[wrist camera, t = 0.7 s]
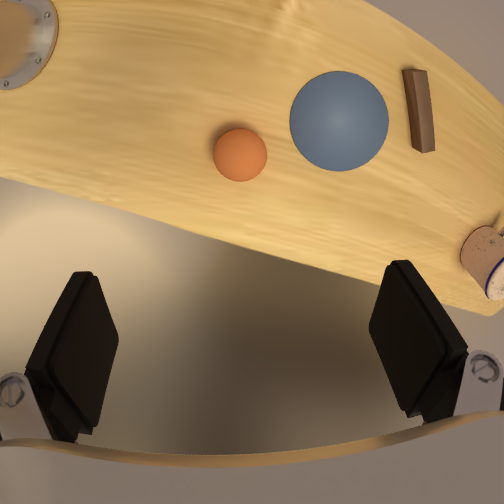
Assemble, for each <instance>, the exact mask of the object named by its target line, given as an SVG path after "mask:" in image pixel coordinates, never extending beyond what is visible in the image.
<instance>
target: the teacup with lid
mask: <svg viewBox="0 0 504 504" xmlns="http://www.w3.org/2000/svg"><path fill="white" fill-rule="evenodd" d="M503 236H504V227H503V228H502V229H501V230H500V231H499V233H497V232H496V231H495V230H494V229H493V228H491V227H488V226H484V227H481V228H479V229H477V230H475V231H474V232H473V233H472V234H471V235H470V236H469V237H468V239H467V240H466V242H465V244H464V246H463V248H462V251H461V263H462V265H463V266H464V268H465V269H466V270H467V271H468V272H469V273H470V275H471V276H472V277H473V278H474V279H475V280H476V282H477V283H478V284H479V285H480V286H481V288H482V289H483V290H484V291H485V294H486V296H487V297H488V298H489V299H491V300H500V299H503V298H504V238H503Z"/></svg>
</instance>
